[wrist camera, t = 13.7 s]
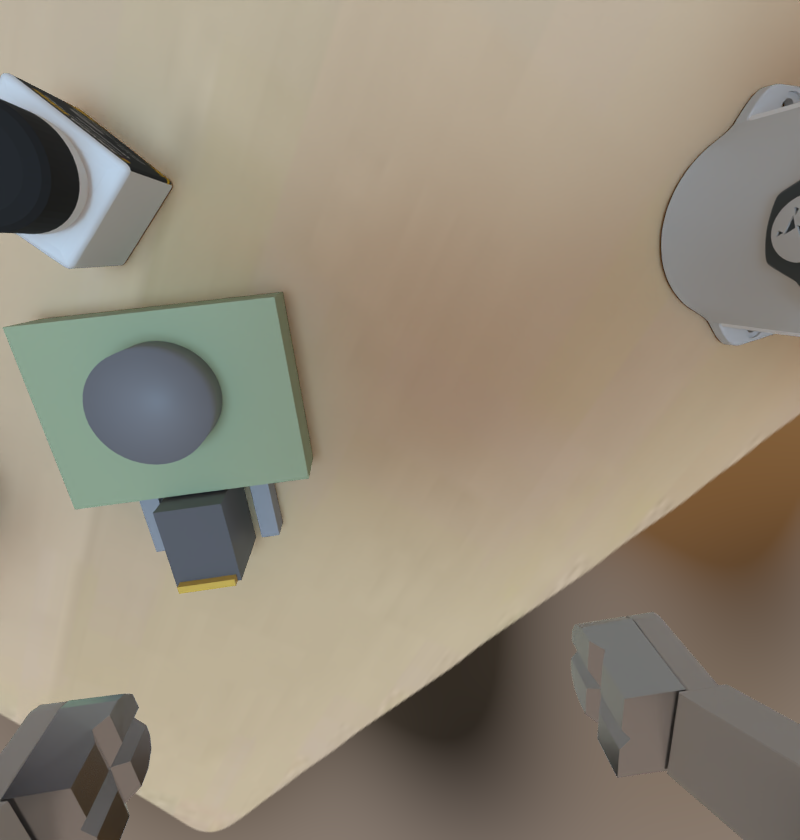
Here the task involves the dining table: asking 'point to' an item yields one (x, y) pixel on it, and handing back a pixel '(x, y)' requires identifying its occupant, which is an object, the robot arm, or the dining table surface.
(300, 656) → the dining table surface
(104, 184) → the medicine bottle
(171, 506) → the grey block yellow strip
